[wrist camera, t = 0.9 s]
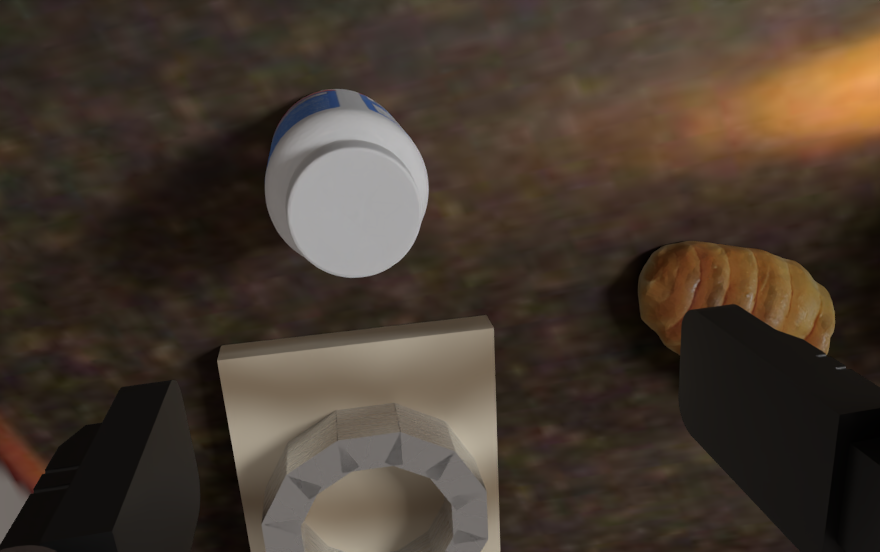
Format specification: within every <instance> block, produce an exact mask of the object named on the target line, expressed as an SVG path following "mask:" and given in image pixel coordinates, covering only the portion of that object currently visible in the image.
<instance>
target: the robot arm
mask: <svg viewBox="0 0 880 552" xmlns="http://www.w3.org/2000/svg"><path fill="white" fill-rule="evenodd" d="M679 407H680V412H681V416H682V419H683V422H684V424H685V426H686V428H687V430H688V432H689V433H690V434H691V436H692V437H693V438H694V439H695V440H696V441H697V442H698V443H699V444H700V445H701V446H702V447H703V449H704V450H705V451H706V452H707V453H708V454H709V455H710V456H711V457H712V458H713V459H714V460H715V461H716V462H717V463H718V464H719V466H720V467H721V468H722V469H723V470H724V471H725V472H726V473H727V474H728V475H729V476H730V477H731V478H732V479H733V480H734V481H735V483H736V484H737V485H738V486H739V487H740V488H741V489H742V490H743V491H744V492H745V493H746V494H747V495H748V496H749V497H750V498H751V500H752V501H753V502H754V503H755V504H756V505H757V506H758V507H759V508H760V509H761V510H762V511H763V512H764V513H765V514H766V515H767V517H768V518H769V519H770V520H771V521H772V522H773V523H774V524H775V525H776V526H777V527H778V528H779V529H780V530H781V531H782V532H783V534H784V535H785V536H786V537H787V538H788V539H789V540H790V541H791V542H792V543H793V544H794V545H795V546H796V547H797V548H798V549H799V551H800V552H880V387H878V386H877V385H875V384H874V383H872V382H871V381H869V380H867V379H866V378H864V377H863V376H861V375H859V374H858V373H856V372H855V371H853V370H851V369H846V366H845V365H843V364H842V363H840V362H839V361H837V360H835V359H834V358H832V357H827V356H826V353H824V352H823V351H821V350H820V349H818V348H816V347H815V346H813V345H812V344H810V343H808V342H807V341H805V340H804V339H801V338H798V337H796V336H793V335H790V334H787V333H784V332H781V331H778V330H776V329H774V328H772V327H771V326H769V325H768V324H766V323H765V322H763V321H762V320H760V319H758V318H757V317H755V316H754V315H752V314H751V313H749V312H748V311H746V310H744V309H743V308H741V307H740V306H738V305H736V304H729V305H722V306H715V307H707V308H700V309H693V310H689V311H687V312H686V313H685V315H684V317H683V320H682V326H681V347H680V371H679ZM199 509H200V483H199V475H198V469H197V464H196V460H195V455H194V450H193V445H192V441H191V436H190V431H189V427H188V422H187V417H186V413H185V408H184V403H183V399H182V394H181V391H180V388H179V386H178V384H177V382H176V381H175V380H170V381H163V382H156V383H148V384H141V385H134V386H126V387H122V388H121V389H120V390H119V392H118V394H117V396H116V398H115V399H114V401H113V403H112V405H111V407H110V409H109V411H108V413H107V415H106V417H105V418H104V420H103V422H102V423H97V424H91V425H85V426H84V427H83V428H82V429H80V430H79V431H78V432H77V433H75V434H74V435H73V436H72V437H70V438H69V439H68V440H67V441H65V442H64V443H63V444H62V445H60V446H59V447H58V449H57V451H56V452H55V454H54V456H53V457H52V459H51V461H50V462H49V464H48V466H47V467H46V469H45V474H42V476H41V477H40V479H39V481H38V482H37V484H36V486H35V487H34V494H30V496H29V498H28V499H27V501H26V503H25V504H24V506H23V508H22V509H21V511H20V513H19V514H18V516H17V518H16V519H15V521H14V523H13V524H12V526H11V528H10V529H9V531H8V533H7V534H6V536H5V538H4V539H3V541H2V543H1V544H0V552H190V551H191V546H192V542H193V538H194V533H195V529H196V524H197V520H198V515H199Z"/></svg>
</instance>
